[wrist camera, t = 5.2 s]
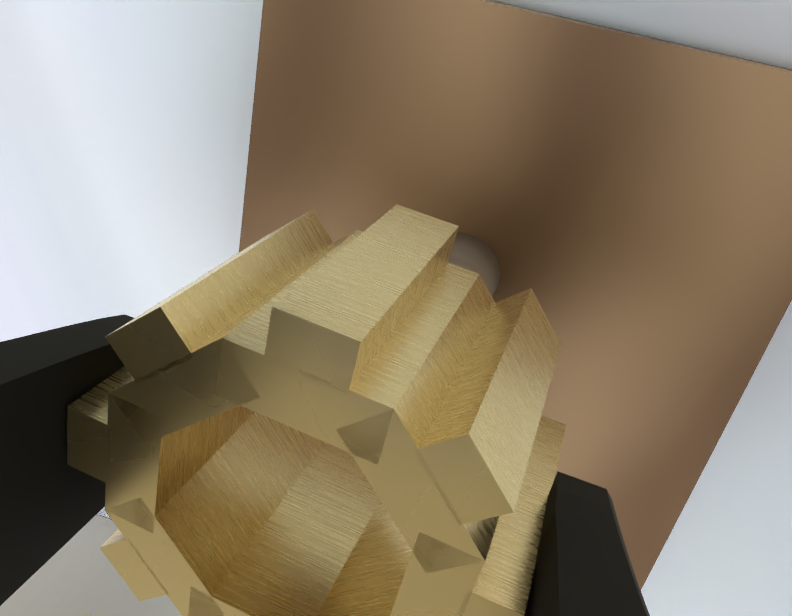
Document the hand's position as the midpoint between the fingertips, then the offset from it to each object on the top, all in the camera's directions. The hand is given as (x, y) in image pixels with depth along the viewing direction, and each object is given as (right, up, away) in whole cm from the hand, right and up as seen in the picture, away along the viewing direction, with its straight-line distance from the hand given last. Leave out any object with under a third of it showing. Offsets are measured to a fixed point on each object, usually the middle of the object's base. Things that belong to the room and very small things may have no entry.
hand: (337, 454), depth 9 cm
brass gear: (+1, +1, +1) cm, 2 cm away
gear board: (+2, 0, +9) cm, 9 cm away
